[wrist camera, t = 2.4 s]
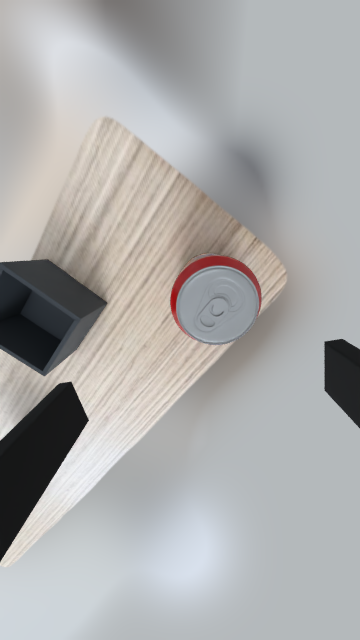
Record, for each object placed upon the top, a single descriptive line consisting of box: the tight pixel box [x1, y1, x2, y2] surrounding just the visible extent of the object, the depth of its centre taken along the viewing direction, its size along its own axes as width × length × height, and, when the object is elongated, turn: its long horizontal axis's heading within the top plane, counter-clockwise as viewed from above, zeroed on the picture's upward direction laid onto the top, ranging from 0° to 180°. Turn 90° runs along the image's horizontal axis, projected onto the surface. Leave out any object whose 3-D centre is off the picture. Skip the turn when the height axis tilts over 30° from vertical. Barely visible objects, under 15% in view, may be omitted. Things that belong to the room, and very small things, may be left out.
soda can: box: [170, 253, 261, 345], centre depth 23 cm, size 8×8×15 cm
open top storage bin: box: [0, 260, 107, 376], centre depth 29 cm, size 11×11×8 cm
